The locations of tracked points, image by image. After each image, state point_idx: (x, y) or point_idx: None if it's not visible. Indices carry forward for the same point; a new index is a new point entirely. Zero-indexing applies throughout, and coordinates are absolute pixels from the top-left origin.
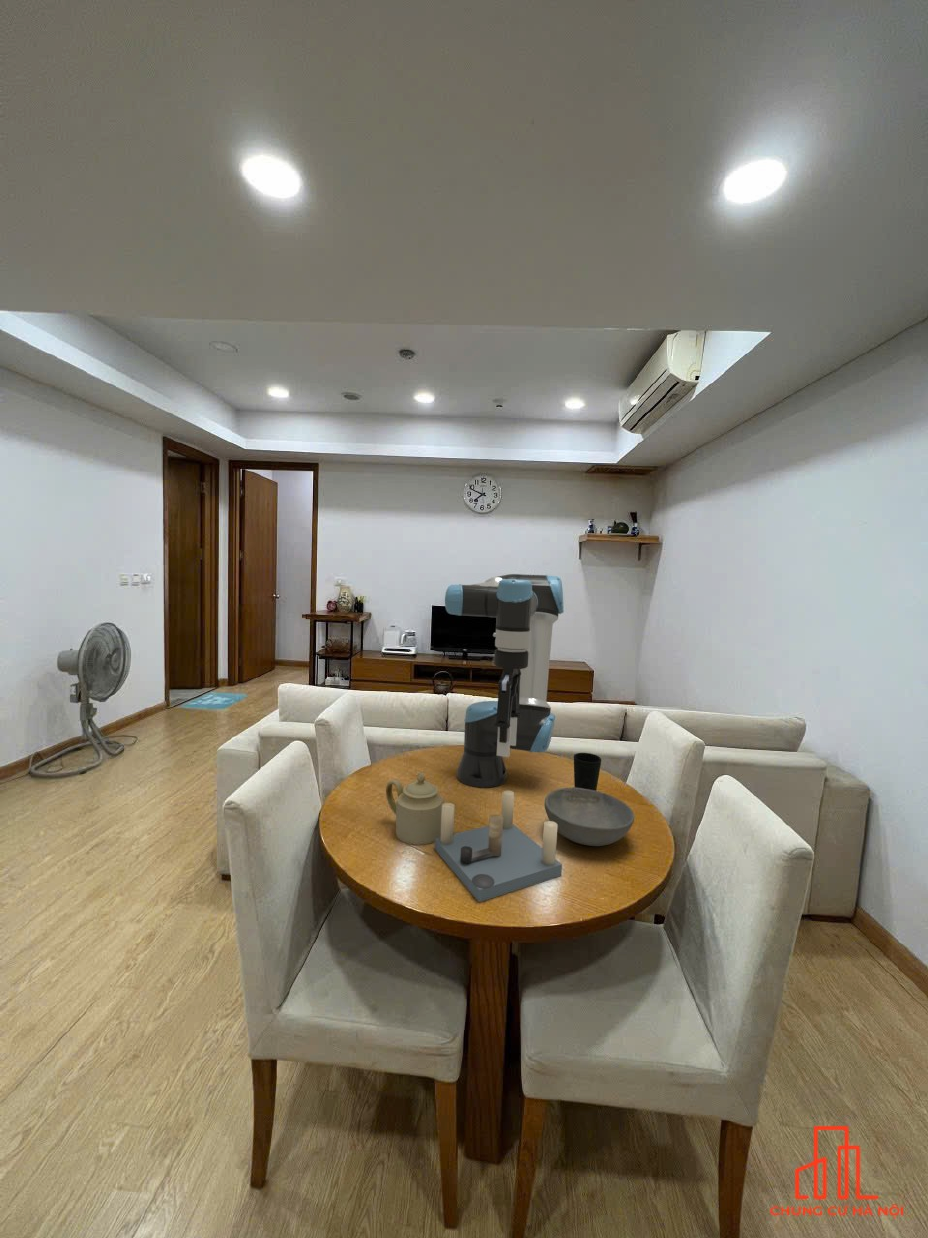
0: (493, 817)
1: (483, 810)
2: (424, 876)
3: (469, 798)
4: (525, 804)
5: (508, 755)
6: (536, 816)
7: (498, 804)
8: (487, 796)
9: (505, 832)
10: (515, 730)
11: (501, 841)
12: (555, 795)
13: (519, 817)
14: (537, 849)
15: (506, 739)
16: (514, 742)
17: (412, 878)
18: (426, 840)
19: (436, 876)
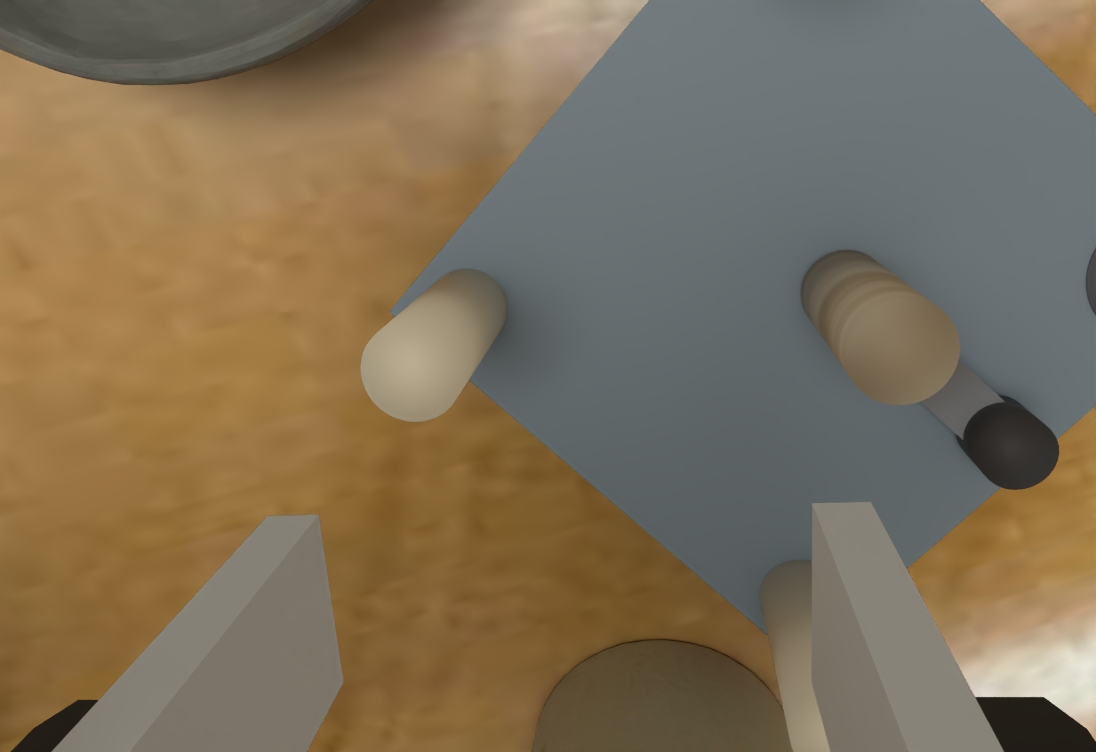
0: (909, 375)
1: (242, 504)
2: (1057, 588)
3: (144, 622)
4: (18, 275)
5: (880, 520)
6: (136, 166)
7: (118, 440)
8: (56, 531)
9: (549, 294)
10: (206, 673)
11: (868, 265)
12: (19, 20)
13: (209, 271)
14: (673, 35)
15: (1005, 737)
16: (301, 556)
17: (1093, 635)
18: (764, 692)
19: (1037, 534)
